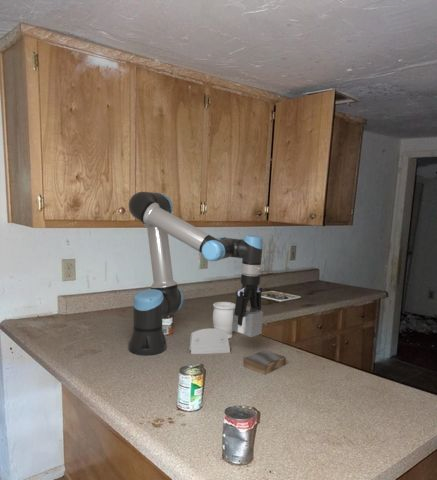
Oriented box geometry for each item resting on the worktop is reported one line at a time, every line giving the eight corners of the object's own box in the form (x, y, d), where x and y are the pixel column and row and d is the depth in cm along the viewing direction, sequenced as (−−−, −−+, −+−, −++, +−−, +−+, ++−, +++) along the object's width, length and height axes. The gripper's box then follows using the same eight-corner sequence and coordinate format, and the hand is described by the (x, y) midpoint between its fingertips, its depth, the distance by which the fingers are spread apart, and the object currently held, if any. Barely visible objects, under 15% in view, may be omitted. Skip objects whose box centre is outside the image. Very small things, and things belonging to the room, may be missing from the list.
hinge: (190, 354, 153) (189, 328, 155) (188, 353, 157) (188, 328, 160) (230, 352, 156) (230, 327, 159) (228, 352, 161) (227, 327, 163)
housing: (251, 337, 148) (253, 310, 147) (231, 330, 155) (233, 304, 154) (261, 333, 153) (263, 307, 152) (242, 327, 160) (244, 302, 159)
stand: (264, 374, 136) (265, 365, 136) (243, 366, 143) (243, 357, 143) (285, 364, 146) (285, 356, 146) (264, 357, 153) (264, 349, 152)
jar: (219, 331, 183) (220, 300, 181) (238, 335, 178) (240, 303, 176) (207, 337, 174) (208, 304, 172) (227, 341, 168) (228, 308, 167)
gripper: (242, 278, 142) (237, 338, 144) (273, 273, 156) (268, 328, 158) (227, 274, 147) (223, 333, 149) (258, 270, 161) (254, 323, 163)
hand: (246, 330), depth 154 cm, fingers closed on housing, 6 cm apart
